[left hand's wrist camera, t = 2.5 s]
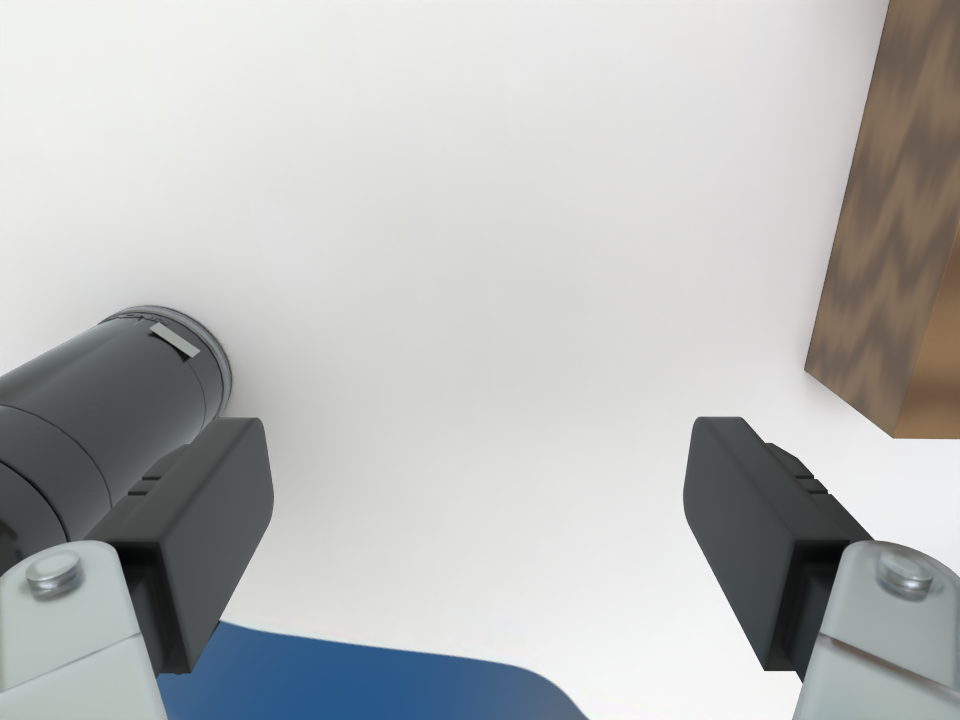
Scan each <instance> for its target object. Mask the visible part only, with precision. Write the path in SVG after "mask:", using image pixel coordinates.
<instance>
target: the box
mask: <svg viewBox="0 0 960 720" xmlns="http://www.w3.org/2000/svg"><path fill="white" fill-rule="evenodd" d="M805 371H807V372H808V373H809V374H810V375H812V376H813V377H814V378H816V379H817V380H818V381H819V382H821V383H822V384H823V385H825V386H826V387H827V388H829V389H830V390H831V391H832V392H834V393H835V394H836V395H838V396H839V397H840V398H841V399H843V400H844V401H845V402H847V403H848V404H849V405H850V406H852V407H853V408H854V409H856V410H857V411H858V412H860V413H861V414H862V415H863V416H865V417H866V418H867V419H869V420H870V421H871V422H872V423H874V424H875V425H876V426H878V427H879V428H880V429H881V430H883V431H884V432H885V433H887V434H888V435H889V436H891V437H892V438H903V439H960V0H890V4H889V8H888V12H887V16H886V21H885V25H884V29H883V34H882V38H881V42H880V47H879V51H878V55H877V60H876V64H875V68H874V72H873V77H872V81H871V85H870V90H869V94H868V98H867V103H866V107H865V111H864V116H863V120H862V124H861V129H860V133H859V137H858V141H857V146H856V150H855V154H854V159H853V163H852V167H851V172H850V176H849V180H848V185H847V189H846V193H845V197H844V202H843V206H842V210H841V215H840V219H839V223H838V228H837V232H836V236H835V241H834V245H833V249H832V253H831V258H830V262H829V266H828V271H827V275H826V279H825V284H824V288H823V292H822V297H821V301H820V305H819V309H818V314H817V318H816V322H815V327H814V331H813V335H812V340H811V344H810V348H809V353H808V357H807V361H806V366H805Z"/></svg>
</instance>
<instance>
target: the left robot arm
mask: <svg viewBox="0 0 960 720" xmlns="http://www.w3.org/2000/svg"><path fill="white" fill-rule="evenodd" d="M230 390H231V374H230V369H229V365H228V362H227V360H226V357H225V355H224V353H223V351H222V349H221V348H220V346H219V345H218V343H217V342H216V341H215V339H214V338H213V337H212V336H211V335H210V334H209V333H208V332H207V331H206V330H205V329H204V328H203V327H202V326H200V325H199V324H198V323H197V322H195V321H193V320H192V319H190V318H189V317H187V316H185V315H183V314H181V313H178V312H176V311H173V310H170V309H166V308H162V307H155V306H139V307H132V308H128V309H125V310H122V311H120V312H118V313H116V314H114V315H112V316H110V317H108V318H106V319H105V320H103V321H102V322H100V323H99V324H98V325H97V326H95V327H93V328H91V329H89V330H87V331H86V332H83V333H81V334H80V335H78V336H76V337H74V338H72V339H70V340H68V341H66V342H65V343H63V344H61V345H59V346H57V347H55V348H53V349H52V350H50V351H48V352H46V353H44V354H42V355H40V356H38V357H37V358H35V359H33V360H31V361H29V362H27V363H25V364H24V365H22V366H20V367H18V368H16V369H14V370H12V371H10V372H9V373H7V374H5V375H3V376H1V377H0V720H168V719H167V716H166V712H165V709H164V706H163V702H162V699H161V695H160V692H159V689H158V685H157V682H156V678H157V677H158V675H159V673H174V674H177V675H180V674H183V673H191V672H192V670H193V668H194V667H195V665H196V663H197V661H198V659H199V657H200V655H201V653H202V651H203V649H204V647H205V646H206V644H207V642H208V641H209V639H210V638H211V636H212V635H213V633H214V631H215V630H216V628H217V627H218V625H219V624H220V622H221V620H219V619H220V617H221V615H222V613H223V611H224V609H225V607H226V605H227V603H228V602H229V600H230V598H231V596H232V594H233V592H234V590H235V588H236V586H237V584H238V582H239V581H240V579H241V577H242V575H243V573H244V571H245V569H246V567H247V565H248V563H249V561H250V560H251V558H252V556H253V554H254V552H255V550H256V548H257V546H258V544H259V542H260V540H261V538H262V537H263V535H264V533H265V531H266V529H267V527H268V525H269V523H270V520H271V516H272V511H273V503H274V492H273V484H272V478H271V471H270V464H269V458H268V451H267V444H266V438H265V431H264V427H263V424H262V422H261V420H260V419H259V418H217V417H218V416H219V415H220V414H221V412H222V411H223V409H224V408H225V406H226V404H227V402H228V399H229V395H230ZM683 503H684V511H685V515H686V519H687V522H688V524H689V526H690V528H691V530H692V532H693V534H694V536H695V538H696V540H697V542H698V544H699V546H700V547H701V549H702V551H703V553H704V555H705V557H706V559H707V561H708V563H709V565H710V567H711V569H712V571H713V573H714V575H715V577H716V578H717V580H718V582H719V584H720V586H721V588H722V590H723V592H724V594H725V596H726V598H727V600H728V602H729V604H730V606H731V607H732V609H733V611H734V613H735V615H736V617H737V619H738V621H739V623H740V625H741V627H742V629H743V631H744V633H745V635H746V636H747V638H748V640H749V642H750V644H751V646H752V648H753V650H754V652H755V654H756V656H757V658H758V660H759V662H760V664H761V665H762V667H763V669H764V671H796V673H797V675H798V676H799V678H800V680H801V682H802V683H803V685H802V689H801V692H800V695H799V699H798V702H797V706H796V709H795V712H794V716H793V719H792V720H960V577H959V576H958V575H957V574H956V573H954V572H953V571H952V570H951V569H949V568H948V567H947V566H945V565H944V564H942V563H941V562H939V561H938V560H936V559H934V558H932V557H930V556H928V555H926V554H924V553H922V552H920V551H917V550H915V549H912V548H909V547H906V546H903V545H899V544H895V543H891V542H885V541H875V540H874V539H873V538H872V537H871V536H870V535H869V534H868V532H867V531H866V530H865V529H864V528H863V527H862V526H861V525H860V524H859V523H858V522H857V521H856V520H855V519H854V518H853V517H852V515H851V514H850V513H849V512H848V511H847V510H846V509H845V508H844V507H843V506H842V505H841V504H840V503H839V502H838V501H837V500H836V498H835V497H834V496H833V495H832V494H828V490H827V489H826V488H825V487H824V486H823V485H822V484H821V483H820V481H819V480H818V479H814V475H813V474H812V473H811V472H810V471H809V470H808V469H807V468H806V467H805V466H804V464H803V463H802V462H801V461H800V460H799V459H798V458H796V457H795V456H793V455H791V454H790V453H788V452H786V451H785V450H783V449H781V448H779V447H778V446H776V445H774V444H773V443H765V442H764V441H763V440H762V439H761V438H760V437H759V436H758V435H757V433H756V432H755V431H754V430H753V429H752V428H751V427H750V426H749V424H748V423H747V422H746V421H745V420H744V419H743V418H741V417H698V418H697V419H696V420H695V422H694V425H693V429H692V435H691V442H690V449H689V455H688V462H687V469H686V476H685V482H684V490H683Z"/></svg>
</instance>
